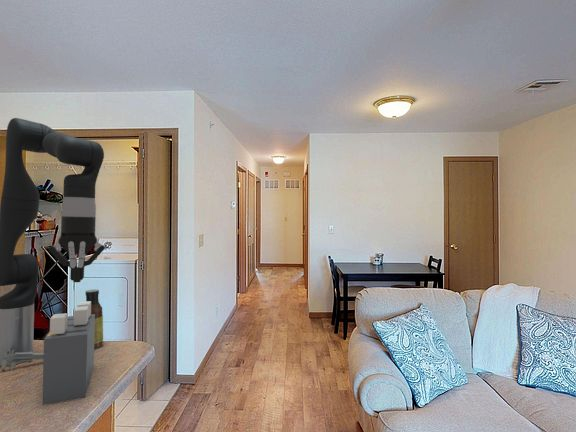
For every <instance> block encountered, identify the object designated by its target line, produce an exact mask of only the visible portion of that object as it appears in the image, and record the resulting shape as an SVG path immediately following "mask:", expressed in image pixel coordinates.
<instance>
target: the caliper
mask: <svg viewBox="0 0 576 432" xmlns="http://www.w3.org/2000/svg"><path fill="white" fill-rule="evenodd" d="M13 352H14V350H13V351H12V352H11V353H10V350H8V353H5V354H4V357H3V360H2V366H1V372H5V369H6V367H7V366H6V364H7V361H8V360H13V361H12V363H11V365H9V366H10V367H9V371H13V369H14V368H15V366H16V365H17V364H16V363H17V362H18V361H21V362H22V363H31V362H32V360H44V352H43V353H40V352H39V353H34V351H33V352H23V353H15V354H13Z"/></svg>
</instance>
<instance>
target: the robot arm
mask: <svg viewBox="0 0 576 432" xmlns="http://www.w3.org/2000/svg"><path fill="white" fill-rule="evenodd" d="M5 137H6V138H5V167H4V176H3V177H4V178H3V185H2V191H1V196H0V287H5V286H6V287H7V286H10V285H11V286H12V285H15V286H14V288H13V289H11V290H10V291H9V292H7V293H5V294H3V295H2V296H0V367H2V360H3V357H4V354H5V353H8V350H10V353H11V352H12V351H13V350H14V352H13V354H15V353H23V352H33V353H34V327H35V326H34V325H35V324H34V323H35V299H36V297H37V293H38V281H39V271H40V270H39V262H38V259H37V257H36V256H35V255H34V254H32V253H21V254H15V250H16V246H17V244H18V242H19V240H20V238H21V237H22V236H23V234H24V233H25V232H26V231H27V229H29V227H31V225H32V224H33V223H34V221H35V220H36V218H37V217H38V213H39V208H40V207H39V206H40V196H41V195H40V192H39V189H38V187H37V186H36V184H35V182H34V180H33V179H32V178H31V176H30V174H29V173H28V171H27V169H26V167H25V164H24V157H23V151H25V152H31V153H38V154H48V155H49V156H51V157H54V158H56V159H57V160H58V161H59V162H60V163H63V164H65V165H70V166H79V167H84V168H83V170H82V172H81V173H76V174H75V173H74V174H73V173H72V174H68V175H67V174H66V176H64V178H63V195H62V196H63V197H62V204H61V211H60V215H61V222H60V224H61V225H60V236H59V238H58V240H57V242H56V243H54V244H52V245H51V246H49V247H47V248H48V249H47V250H48V252H49V253H51V255H53V257H54V258H55V259H56V260H57V261H58V262H59V263H60V264H61V265H62V267H69V268H70V277H69V279H70V281H72V282H73V283H81V281H82V280H83V279H84V277H85V268H86V267H87V266H90V265H91V264H92V263H93V262H94V261H95V260H96V259H97V258H98V257H99V255H101V253H103V251H104V250H105V249H106V246H105V245H104V244H101V243H100V242H98V238H97V236H96V222H97V220H96V218H97V217H96V215H97V213H96V212H97V205H96V183H97V180H98V176H99V173H100V170H101V167H102V165H103V162H104V157H105V151H104V148H103V146H102V145H101V143H98V142H97V141H94V140H89V139H84V138H79V137H76V136H72V135H69V134H66V133H62V132H57V131H56V130H54V129H53V128H51V127H50V126H48V125H46V124H43V123H40V122H35V121H31V120H28V119H23V118H18V117H14V118H11V119H10V120H9V122H8V124H7V127H6V136H5ZM93 247H94V253H92V255H91V256H90V257H89V258H88V259H86V258H87V254H88V253H89V252H90V251H91V250H92V248H93ZM62 249H63V250H64V252H65V253H67V254H68V257H69V260H68V259H67V258H66V256H65V255H64V254H63V253H62V252H61V251H62ZM12 361H13V360H8V361H7V364H6V367H8V366H11V363H12ZM21 363H23V362H21V361H18V362H17V363H16V365H18V364H21Z"/></svg>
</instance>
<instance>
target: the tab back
mask: <svg viewBox="0 0 576 432" xmlns="http://www.w3.org/2000/svg"><path fill="white" fill-rule="evenodd" d="M83 306H89V313H88V318H89V317H90V315H91V301H85V300H84V301H79V302H78V303H77V305H76V307H83Z"/></svg>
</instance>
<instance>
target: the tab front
mask: <svg viewBox="0 0 576 432" xmlns="http://www.w3.org/2000/svg"><path fill="white" fill-rule="evenodd" d="M67 316H68V312H67V313H56V314H55V313H54V314H52V316H51V317H50V318H49V332H50V335H54V334H63V333H65V331H66V329H67Z"/></svg>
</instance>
